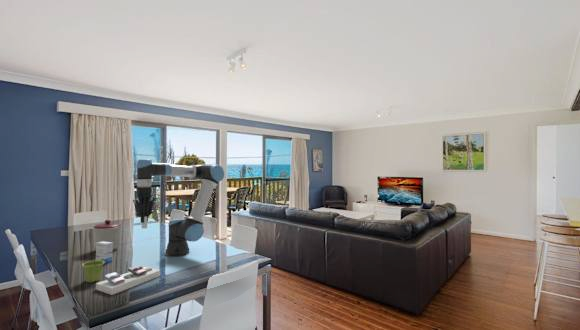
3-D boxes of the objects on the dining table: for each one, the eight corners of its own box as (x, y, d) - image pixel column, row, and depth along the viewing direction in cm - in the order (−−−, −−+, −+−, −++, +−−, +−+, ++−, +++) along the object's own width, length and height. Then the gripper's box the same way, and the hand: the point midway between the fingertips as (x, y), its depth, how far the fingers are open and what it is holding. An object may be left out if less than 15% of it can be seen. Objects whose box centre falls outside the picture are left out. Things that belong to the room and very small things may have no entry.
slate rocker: (103, 279, 137) (105, 273, 136) (114, 276, 141) (115, 270, 141) (114, 286, 133) (115, 281, 133) (124, 283, 138) (125, 277, 137)
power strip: (96, 289, 135) (96, 282, 135) (144, 272, 159) (145, 266, 159) (111, 294, 130) (112, 287, 130) (160, 275, 153) (160, 269, 153)
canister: (85, 251, 194) (85, 220, 194) (110, 245, 211) (111, 216, 211) (103, 255, 187) (104, 223, 187) (128, 248, 204) (128, 218, 204)
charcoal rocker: (127, 272, 147) (128, 266, 147) (136, 269, 152) (137, 263, 152) (137, 277, 144) (138, 271, 144) (146, 274, 148) (147, 268, 148)
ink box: (112, 261, 176) (113, 242, 176) (105, 263, 171) (105, 244, 171) (102, 259, 178) (103, 240, 178) (95, 262, 174) (95, 242, 174)
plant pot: (89, 276, 150) (89, 260, 151) (107, 276, 151) (108, 260, 151) (77, 284, 141) (77, 266, 141) (97, 283, 142) (97, 266, 142)
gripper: (138, 187, 154) (138, 231, 154) (158, 186, 166) (158, 226, 166) (129, 187, 157) (129, 229, 157) (149, 185, 169) (149, 225, 169)
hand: (144, 228), depth 162 cm, fingers closed
